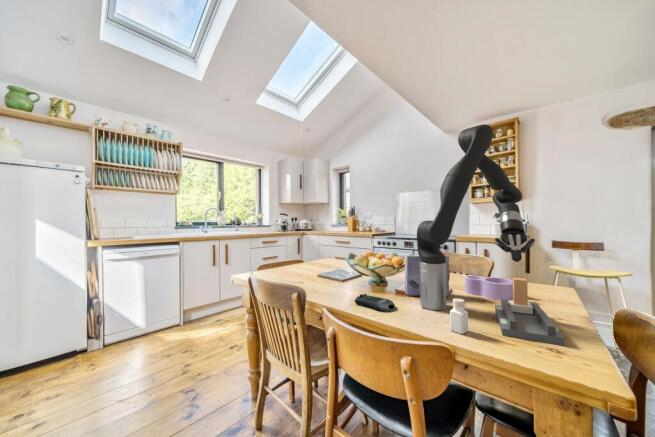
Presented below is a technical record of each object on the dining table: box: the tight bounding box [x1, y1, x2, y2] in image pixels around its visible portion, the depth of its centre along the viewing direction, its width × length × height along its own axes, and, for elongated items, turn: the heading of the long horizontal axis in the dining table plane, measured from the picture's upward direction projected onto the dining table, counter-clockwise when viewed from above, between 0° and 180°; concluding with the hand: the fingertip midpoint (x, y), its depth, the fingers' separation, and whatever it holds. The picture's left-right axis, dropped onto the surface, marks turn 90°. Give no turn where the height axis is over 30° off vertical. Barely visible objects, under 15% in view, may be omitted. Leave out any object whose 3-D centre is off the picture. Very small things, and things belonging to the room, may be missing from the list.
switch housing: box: [494, 298, 566, 347], centre depth 82 cm, size 22×14×5 cm, turn 152°
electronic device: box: [354, 293, 396, 312], centre depth 103 cm, size 9×6×15 cm
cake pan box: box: [404, 254, 451, 297], centre depth 115 cm, size 19×5×18 cm, turn 85°
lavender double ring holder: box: [464, 274, 513, 302], centre depth 113 cm, size 20×12×7 cm, turn 48°
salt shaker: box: [449, 298, 469, 335], centre depth 79 cm, size 4×4×10 cm
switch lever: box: [508, 277, 533, 314], centre depth 88 cm, size 5×6×11 cm
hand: (517, 260), depth 93 cm, fingers closed
